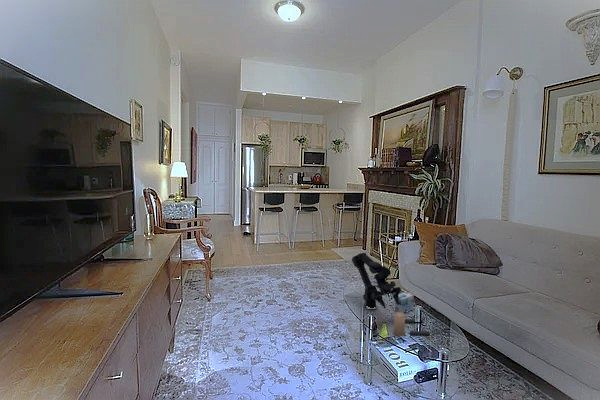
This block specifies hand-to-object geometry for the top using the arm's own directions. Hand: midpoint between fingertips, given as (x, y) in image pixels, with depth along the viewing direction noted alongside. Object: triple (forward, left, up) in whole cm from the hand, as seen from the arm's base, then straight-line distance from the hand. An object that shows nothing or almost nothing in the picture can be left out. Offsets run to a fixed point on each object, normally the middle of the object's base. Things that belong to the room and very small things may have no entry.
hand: (391, 306), depth 199 cm
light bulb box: (+12, +20, -14) cm, 27 cm away
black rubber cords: (+14, -2, -13) cm, 19 cm away
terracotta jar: (+3, -7, -13) cm, 15 cm away
